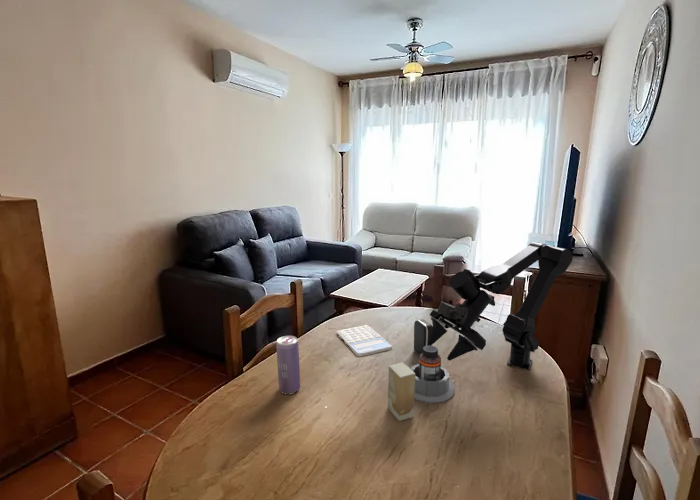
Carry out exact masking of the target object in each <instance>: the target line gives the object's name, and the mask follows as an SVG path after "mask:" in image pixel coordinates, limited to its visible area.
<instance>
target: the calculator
mask: <svg viewBox="0 0 700 500" xmlns="http://www.w3.org/2000/svg"><path fill="white" fill-rule="evenodd" d="M337 333H338V334H339V336H340V337H341V338H342V339H343V340H344V341H345V342H346V343H347V345H348V346H349V347H350V348H351V349H352V350H353V351H352V350H351V349H350V348H349V347H348V346H347V345H346V346H347V347H348V348H349V349H350V350H351V351H352V352H353V353H354V354H355V355H356V356H357V357H365V356H369V355H372V354H373V355H374V354H377V353H382V352H385V351H391V350H393V344H391V343H390V342H389V341H388V340H387V339H385V338H384V337H383V336H382V335H380V333H378V332H377V331H376V330H374V329H373V328H372V327H370V325H368V324H365V325H359V326H355V327H349V328H345V329H340V330H337V331H336V334H337ZM339 336H338V337H339ZM340 337H339V338H340ZM341 338H340V339H341Z"/></svg>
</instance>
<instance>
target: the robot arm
mask: <svg viewBox="0 0 700 500" xmlns="http://www.w3.org/2000/svg"><path fill="white" fill-rule="evenodd" d="M573 259H574V258H573V254H572V252H571V251H570V249H568V248H564V247H560V246H559V247H558V246H555V245H547V244H546V243H541V242H536V241H533V242H530V243H528V245H527V246H526V247H525V248H523V249H522V250H521V251H519V252H517V253H516V254H515V255H513V256H512V257H510V258H509V259H507V260H506V261H505V262H503V263H501V264H499V265H494V266H490V267H488V268H486V269H484V270H482V271H481V272H480V273H479V274H475V275H474V273H473V272H472V270H470V269H468V268H464V269H463V270H461V271H458V272H456V273H455V274H453V275H452V276H451V277H450V278H449V281H448V284H449V287H450V288H451V289H452V290H453V291H454V292H455V293H456V294H457V295H458V296H459V297H460V298H461V299H462V300H463V302H462V303H460V302H458V303H456V304H455V306H454V305H452V304H450V303H447V302H443V301H440V304H439V306H438V308H436V309H435V308H434V309H432V311H431V312H430V313H429V316H430V321H431V323H432V324H431V325H432V326H433V327H432V331H431V334H430V337H429V340H428V343H427V344H428V345H430V346H433V345H434V344H435V343H436V342H437V341H439V340H440V338H442V337H443V336H444V335H445V334H446V333H448V330H447V329H449V328H450V329H451V330H454V331H455V332H457V333H459V334H458V339H457V342H456V344H455V345H454V346H453V348H452V349H451V351H450V353H449V354H448V355H447V357H446V359H447V360H448V361H452V360H455V359H456V358H458V357H460V356H463V355H465V354H468V353H470V352H472V351H478V350H480V351H483V349H484V348H485V347H486V345H487V340H486V339H485V338H484V337H483V336H482V335H481V333H479V332H478V331H477V330H475V329H473V328H472V326H473V325H474V324H475V323H476V322H477V323H479V322H480V321H481V318H480V316H481V315H482V313H483V312H484V311H485V309H486V308H487V307H488V305H490V306H492V307H495V306H496V301H495V296H494V295H501V294H503V293H504V292H505V291H506V290H507V289H508V288H509V287H510V286H511V284H512V282H513V279H514V278H515V277H517V276H518V275H520V274H521V273H522V272H524V271H525V270H527V269H528V268H529V267H531V266H532V265H533V264H535V263H536V262H537V263H538V264H537V265H538V269H539V270H538V272H537V274H536V276H535V278H534V280H533V282H532V284H531V286H530V287H529V289H528V292H527V293H526V296H525V298H524V299H523V302H522V304H521V306H520V308H519V309H518V311H517V312H516V313H513V314H512V313H509V314H508V315H507V316H506V320H505V321H504V323H503V324H502V329H501V330H502V335H503V337H504V341H505V342H507V343H509V344H510V352H509V357H508V359H507V361H506V365H507V366H511V367H515V368H518V369H523V370H527V371H529V370H530V369H531V366H532V363H533V360H532V359H531V355H532V354H531V353H534V352H535V351H536V350H538V349H539V346H540V344H541V343H540V341H539V340H538V339H537V337H536V336H535V333H536V321H535V320H536V318H537V315H538V314H539V312H540V310H541V308H542V306H543V304H544V302H545V299H547V295H548V294H549V292H550V290H551V288H552V286H553V284H554V281H556V278H557V277H559V276H561V275H562V274H564V273H565V272H566V271H567V270H568V268H569V267H570V266H571V264H572V263H573ZM488 292H489V293H488ZM490 293H492V294H494V295H492V294H490Z"/></svg>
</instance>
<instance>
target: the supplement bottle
mask: <svg viewBox="0 0 700 500" xmlns="http://www.w3.org/2000/svg"><path fill="white" fill-rule="evenodd" d="M418 358H419V361H418V364H419V379H422V380H426V381H438V380H440V379H441V366H442V357H441V355H440V354H439V349H438V347H437V346H434V345H431V346H430V345H428V346H425V347H423V353H422V354H421V355H419V357H418Z"/></svg>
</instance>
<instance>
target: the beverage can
mask: <svg viewBox="0 0 700 500" xmlns="http://www.w3.org/2000/svg"><path fill="white" fill-rule="evenodd" d="M275 347H276V361H277V363H276V364H277V379H278V382H277V383H278V390H279V391H280V393H282V392H283V393H286V394H285V395H291V394H290V393H294V394H295V392H296V391H297V392H299V390H300V388H301V375H300V373H301V372H300V371H301V369H300V352H299V349H300V348H299V341H298V338H297V337H296V336H294V335H284V336H281V337H279V338H277V340H276V346H275ZM297 392H296V393H297ZM283 393H282V394H283Z"/></svg>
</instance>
